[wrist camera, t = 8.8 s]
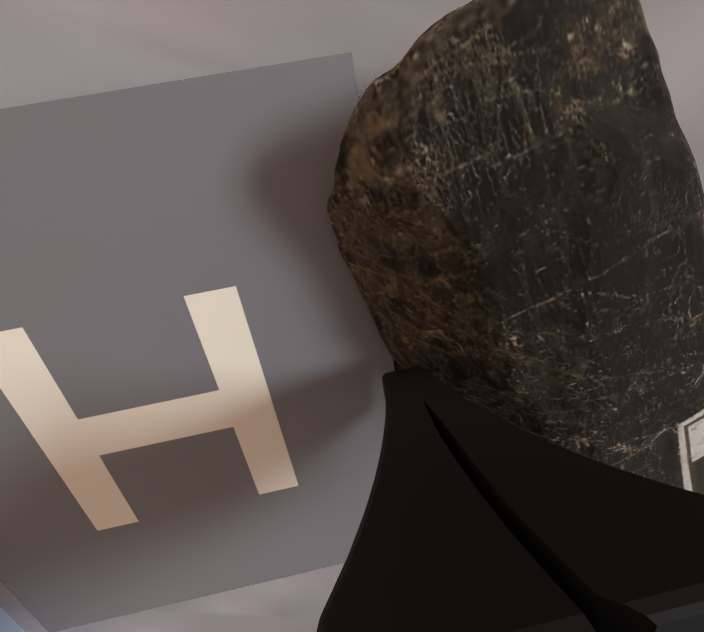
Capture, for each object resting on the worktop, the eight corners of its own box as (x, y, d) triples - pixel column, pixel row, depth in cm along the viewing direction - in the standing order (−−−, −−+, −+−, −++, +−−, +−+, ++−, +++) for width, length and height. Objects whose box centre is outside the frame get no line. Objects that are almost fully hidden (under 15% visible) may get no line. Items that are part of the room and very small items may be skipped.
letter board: (416, 536, 15) (418, 545, 15) (56, 621, 14) (49, 633, 14) (349, 58, 8) (351, 51, 8) (-344, 171, 7) (-381, 170, 7)
